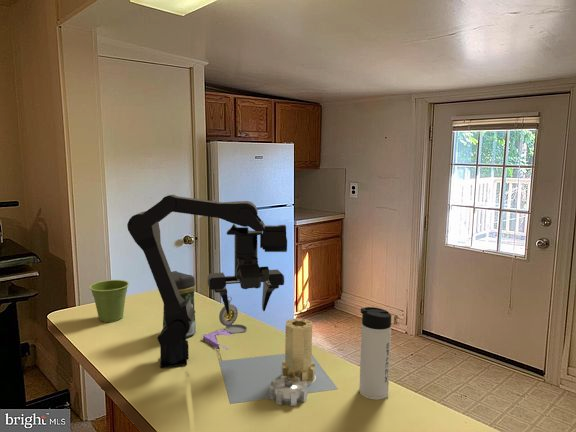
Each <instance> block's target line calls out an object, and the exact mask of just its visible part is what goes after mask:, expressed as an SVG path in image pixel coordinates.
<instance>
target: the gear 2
mask: <svg viewBox="0 0 576 432" xmlns="http://www.w3.org/2000/svg"><path fill="white" fill-rule="evenodd" d="M307 385H308V384H307V383H306V382H302V381H300V378H299V377H294V378H287V376H281V379H278V380H275V379H273V380H272V381H271V386H269V398H270V401H273V400H274V401H275V404H276V405H277V406H282V405H290V407H297V404H298V403H300V402H301V403H305V402H306V401H307V398H308V397H307V396H308V393H307Z"/></svg>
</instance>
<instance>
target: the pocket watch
mask: <svg viewBox="0 0 576 432" xmlns="http://www.w3.org/2000/svg"><path fill="white" fill-rule="evenodd" d="M229 298H230V299H228V304H229V314H227V312H226V309H225V306H223V307H222V308H221V309H220V312H219V313H218V314H219V316H218V317H219V318H218V319H219V322H220V324H221V325H222V326H225V327H224V330H225V331H227V332H228V333H230V335H231V334H232V335H234V334H244V333H246V332H247V331H248V329H247V326H245V325H244V324H234V323H235V322H236V321H237V318H238V314H239V311H238V308H237V306H236V305H234V304H232V303H231V302H232V299H233V298H232V296H229Z"/></svg>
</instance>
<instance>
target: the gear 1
mask: <svg viewBox="0 0 576 432" xmlns="http://www.w3.org/2000/svg"><path fill="white" fill-rule="evenodd" d="M284 339H285V346H284V347H285V348H284V349H285V351H284V354H285V360H284V361H283V362H282V376H287V378H294V377H299V378H300V381H302V382H306V383H307V382H308V381H311V382H313V381H314V379H315V363H314V362H311V356H312V355H313V353H312V352H313V351H312V350H313V349H312V347H313V321H311V320H308V319H306V318H292V319H289V320H286V321H285V338H284Z"/></svg>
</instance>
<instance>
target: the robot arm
mask: <svg viewBox="0 0 576 432" xmlns="http://www.w3.org/2000/svg"><path fill="white" fill-rule="evenodd" d="M171 213H179V214H187V215H192V216H193V215H194V216H201V217H207V218H208V217H209V218H217V219H220V220H222V221H226V222H228V223H230V224H232V225H231V227H230V228H229V229H228V230H227V231H226V235H228V236H229V235H230V236H234V239H233V240H234V275H226V276H225V274H224V272H211V273H209V274H208V275H207V287H208V289H209V290H211V291H214V293H218V294H219V295H220V297H221V299H222V302H223V305H224V306H225V309H226V312H227V314H229V304H228V300H229V299H228V298H229V296H228V289H227V285H233V284H240V285H239V286H240V288H241V289H242V290H248V289H260V288H261V286H262V296H261V299H262V300H261V306H262V307H261V308H262V311H263V312H265V311H266V309H267V306H268V303H269V301H270V298H271V295H272V293H273V292H274V291H275V290H278V289H279V287H280V286H284V285H285V275H284V274H283V273H282V272H281V271H280V270H278V269H270V268H269V266H259V262H258V261H259V258H258V236H259V240H260V241H259V242H260V243H259V247H260V248H259V249H262V250H263V251H264V252H265V253H287V252H288V237H287V226H286V224H278V225H265V223H264V221H263V220H262V219H261V218H260V216H259V215H258V213H259V212H258V208H257V206H256V205H255V204H254V202H252V201H249V200H240V201H239V200H237V201H236V200H235V201H227V202H226V201H225V202H222V201H213V200H208V199H207V200H206V199H199V198H191V197H185V196H178V195H176V194H169V195H166V196H164V197H162V199H161V200H159V202H157V203H155V204H154V205H153V206H151V207H150V208H149V209H147V210H145V211H141V212H138V213H136V214H134V215H132V216H131V217H130V218H129V219H128V222H127V230H128V233H129V234H130V236H131V237H132V239H133V241H134V242H135V243H136V244H137V246H138V247H139V248H140V249H141V250H142V251H143V253H144V255H145V258H146V261H147V264H148V267H149V270H150V271H151V275H152V276H153V279H154V282H155V285H156V288H157V290H158V291H159V295H160V297H161V300H162V303H163V311H164V317H165V323H166V324H165V326H164V327H163V326H162V329H161V331H160V332H159V333H158V335H157V341H158V343H159V346H160V347H159V349H160V350H159V351H160V353H159V354H160V356H159V357H160V358H159V368H162V369H164V368H172V367H182V366H186V365H188V360H189V358H190V357H189V340H187V338H186V336H185V335H186V334H187V333H188V332H189V330H190V327H191V325H192V323H193V321H194V314H195V315H196V310H195V308H194V309H193V308H192V305H191V300H190V299H187V300H186V301H185V300H184V299H183V298H182V297H181V295H180V294H179V291H178V288H177V286H176V283H175V280H174V278H173V275H172V272H173V271H171V268H170V265H169V263H168V259H167V257H166V255H165V251H164V249H163V247H162V242H161V240H162V239H161V229H160V222H161V221H162V220H163V219H165V218H167V216H169V215H170V214H171ZM239 226H240V227H239ZM249 228H250V229H251V230H249ZM224 306H223V307H224Z"/></svg>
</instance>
